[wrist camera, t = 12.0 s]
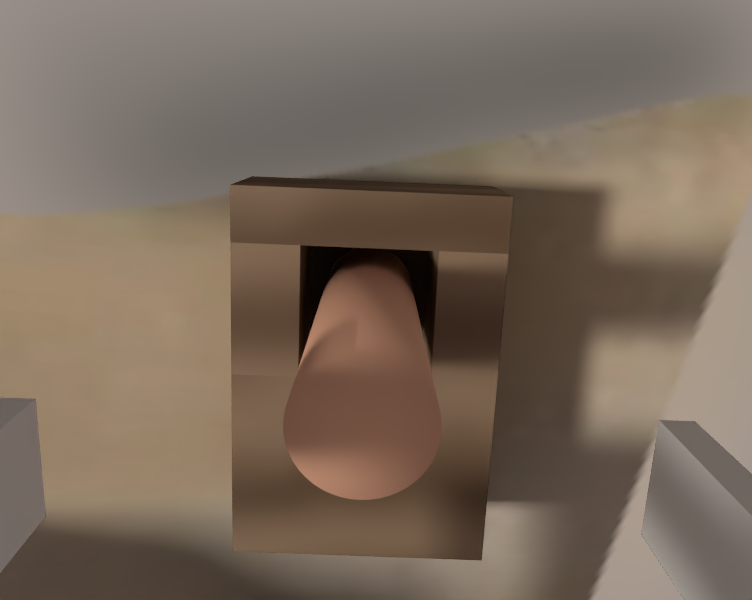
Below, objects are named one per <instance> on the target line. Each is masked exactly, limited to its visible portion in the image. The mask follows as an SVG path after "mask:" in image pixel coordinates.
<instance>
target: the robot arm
mask: <svg viewBox="0 0 752 600" xmlns="http://www.w3.org/2000/svg"><path fill="white" fill-rule="evenodd" d="M45 517H46V513H45V502H44V490H43V479H42V467H41V456H40V444H39V433H38V421H37V410H36V399H23V398H0V573H1V572H2V570H3V569H4V568H5V567H6V565H7V564H8V563H9V562H10V560H11V559H12V558H13V557H14V555H15V554H16V553H17V552H18V550H19V549H20V548H21V547H22V545H23V544H24V543H25V542H26V540H27V539H28V538H29V537H30V536H31V534H32V533H33V532H34V531H35V529H36V528H37V527H38V526H39V524H40V523H41V522H42V521H43V519H44V518H45ZM641 535H642V536H643V538H644V539H645V541H646V542H647V544H648V545H649V547H650V548H651V550H652V551H653V553H654V555H655V556H656V558H657V559H658V561H659V562H660V564H661V565H662V567H663V568H664V570H665V571H666V573H667V574H668V576H669V577H670V579H671V580H672V582H673V583H674V585H675V586H676V588H677V590H678V591H679V592H680V594H681V596H682V597H683V598H684V600H752V474H751V473H750V472H749V471H748V470H747V469H746V468H745V467H743V466H742V465H741V464H740V463H739V462H738V461H737V460H736V459H735V458H734V457H733V456H732V455H730V454H729V453H728V452H727V451H726V450H725V449H724V448H723V447H722V446H721V445H720V444H719V443H718V442H716V441H715V440H714V439H713V438H712V437H711V436H710V435H709V434H708V433H707V432H706V431H705V430H703V429H702V428H701V427H700V426H699V425H698V424H697V423H696V422H695V421H667V420H659V425H658V431H657V437H656V444H655V450H654V457H653V463H652V469H651V476H650V482H649V489H648V496H647V502H646V508H645V515H644V521H643V527H642V533H641Z"/></svg>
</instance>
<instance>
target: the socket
mask: <svg viewBox="0 0 752 600" xmlns="http://www.w3.org/2000/svg"><path fill="white" fill-rule="evenodd" d="M513 199H514V197H513V196H511V195H509V194H507V193H505V192H503V191H501V190H498V189H496V188H494V187H489V186H465V185H442V184H418V183H395V182H371V181H348V180H324V179H301V178H277V177H253V176H252V177H250V178H247V179H244V180H242V181H239V182H236V183H234V184H231V185H230V237H231V374H232V511H233V551H242V552H269V553H297V554H324V555H351V556H379V557H406V558H433V559H460V560H482V550H483V538H484V527H485V516H486V504H487V493H488V482H489V470H490V459H491V448H492V436H493V425H494V414H495V403H496V391H497V380H498V369H499V357H500V346H501V335H502V323H503V312H504V301H505V289H506V278H507V267H508V255H509V244H510V233H511V221H512V210H513ZM311 246H328V247H352V248H376V249H400V250H424V251H429V253H428V270H427V286H426V303H425V319H424V336H423V337H424V342H425V346H426V351H427V355H428V359H429V364H430V368H431V373H432V377H433V381H434V386H435V390H436V395H437V399H438V403H439V408H440V412H441V419H442V434H441V441H440V444H439V448H438V451H437V453H436V455H435V458H434V460H433V461H432V463H431V465H430V466H429V468H428V469H427V470H426V471H425V473H424V474H423V475H422V476H421V477H420V478H419V479H418V480H417V481H415V482H414V483H413V484H411V485H410V486H409V487H407V488H405V489H403V490H402V491H400V492H398V493H395V494H393V495H390V496H387V497H383V498H379V499H372V500H355V499H347V498H343V497H339V496H336V495H333V494H330V493H328V492H326V491H324V490H322V489H320V488H319V487H317V486H316V485H314V484H313V483H312V482H310V481H309V480H308V479H307V478H306V477H305V476H304V475H303V474H302V473H301V472H300V471H299V470H298V468H297V467H296V465H295V464H294V462H293V461H292V459H291V457H290V455H289V453H288V450H287V447H286V444H285V439H284V433H283V420H284V413H285V408H286V404H287V401H288V398H289V395H290V392H291V389H292V386H293V383H294V380H295V377H296V374H297V371H298V368H299V365H300V362H301V359H302V355H303V352H304V349H305V346H306V343H307V340H308V337H309V327H310V278H311Z"/></svg>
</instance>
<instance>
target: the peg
mask: <svg viewBox="0 0 752 600" xmlns="http://www.w3.org/2000/svg"><path fill="white" fill-rule="evenodd" d="M283 433H284V439H285V444H286V447H287V450H288V453H289V455H290V457H291V459H292V461H293V462H294V464H295V465H296V467H297V468H298V470H299V471H300V472H301V473H302V474H303V475H304V476H305V477H306V478H307V479H308V480H309V481H310V482H312V483H313V484H314V485H316V486H317V487H319V488H320V489H322V490H324V491H326V492H328V493H330V494H333V495H336V496H339V497H343V498H347V499H355V500H372V499H379V498H383V497H387V496H390V495H393V494H395V493H398V492H400V491H402V490H403V489H405V488H407V487H409V486H410V485H411V484H413V483H414V482H415V481H417V480H418V479H419V478H420V477H421V476H422V475H423V474H424V473H425V471H426V470H427V469H428V468H429V466H430V465H431V463H432V461H433V460H434V458H435V455H436V453H437V451H438V448H439V444H440V441H441V434H442V419H441V412H440V408H439V403H438V399H437V395H436V390H435V386H434V381H433V377H432V373H431V368H430V364H429V359H428V355H427V351H426V346H425V342H424V337H423V333H422V329H421V324H420V320H419V315H418V311H417V306H416V302H415V298H414V293H413V289H412V284H411V280H410V276H409V273H408V271H407V269H406V267H405V265H404V264H403V263H402V261H401V260H400V259H399V258H398V257H397V256H395V255H394V254H393V253H391V252H389V251H387V250H385V249H376V248H356V249H353V250H351V251H348V252H347V253H345V254H344V255H343V256H341V257H340V258H339V259H338V260H337V261H336V263H335V264H334V265H333V267H332V269H331V271H330V273H329V276H328V279H327V282H326V285H325V288H324V291H323V294H322V297H321V300H320V303H319V307H318V310H317V313H316V316H315V319H314V322H313V325H312V328H311V331H310V334H309V337H308V340H307V343H306V346H305V349H304V352H303V355H302V359H301V362H300V365H299V368H298V371H297V374H296V377H295V380H294V383H293V386H292V389H291V392H290V395H289V398H288V401H287V404H286V408H285V413H284V420H283Z"/></svg>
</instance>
